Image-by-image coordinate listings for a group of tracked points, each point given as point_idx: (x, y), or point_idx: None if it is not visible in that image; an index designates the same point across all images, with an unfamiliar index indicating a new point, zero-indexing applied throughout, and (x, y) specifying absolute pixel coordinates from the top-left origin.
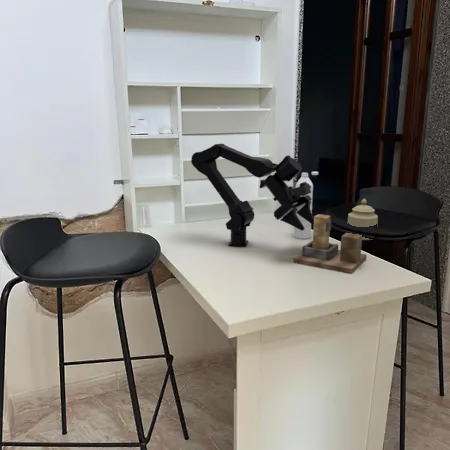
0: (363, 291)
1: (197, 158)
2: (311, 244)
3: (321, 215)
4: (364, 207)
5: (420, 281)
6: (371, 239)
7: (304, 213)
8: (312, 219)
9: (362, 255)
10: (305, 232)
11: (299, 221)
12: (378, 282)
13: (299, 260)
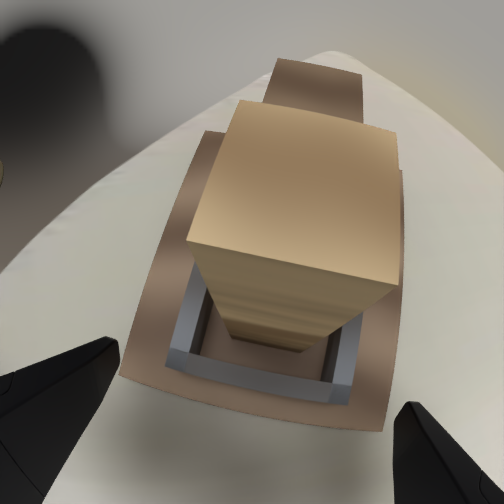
0: (483, 161)
1: None
2: (242, 366)
3: (262, 189)
4: None
5: (348, 57)
6: (2, 163)
7: (28, 466)
8: (94, 365)
9: (221, 141)
10: None
11: (461, 460)
12: (413, 123)
13: (387, 397)
